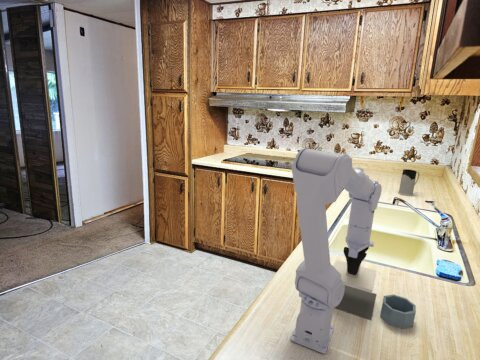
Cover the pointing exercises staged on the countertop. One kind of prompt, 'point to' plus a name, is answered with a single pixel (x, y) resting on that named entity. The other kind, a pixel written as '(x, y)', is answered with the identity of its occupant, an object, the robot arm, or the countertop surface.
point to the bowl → (398, 311)
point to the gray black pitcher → (408, 182)
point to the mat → (357, 302)
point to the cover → (356, 277)
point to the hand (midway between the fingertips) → (353, 271)
